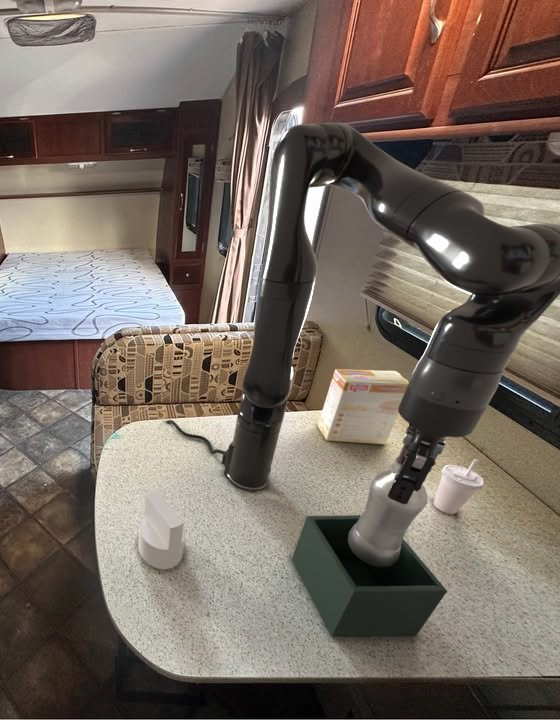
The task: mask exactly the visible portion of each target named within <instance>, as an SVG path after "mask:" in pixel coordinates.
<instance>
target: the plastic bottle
mask: <svg viewBox="0 0 560 720" xmlns="http://www.w3.org/2000/svg"><path fill="white" fill-rule="evenodd" d="M398 457H399V455H398V456H397V457H396V458H395V459H394V461H393V463H392V464H391V465H390V469H386V470H384V471H381V472H379V473H377V474H375V476H373V477H372V479H371V480H370V484H369V490H368V496H367V500H366V502H365V507H364V509H363V512H362V514H360V515H361V517H360V518H359V520H358V522H357V523H356V524H355V525H354V526H353V527H352V528H351V530H350V532H349V536H348V544H349V546H350V548H351V550H352V552H353V553H354V554H355V555H356V556H357V557H358V558H359V559H360V560H362V561H363V562H365V563H367V564H369V565H372V566H375V567H389V566H391V565H392V564H393V563H394V562H396V561H397V560H398V558H399V555H400V551H401V543H402V540H403V539H404V537H405V534H406V532H407V530H408V529H409V527H410V526H411V524H412V523H413V521H414V520H415V519H416V518H417V517H418V516H419V515H420V514H421V512H422V511H423V510H424V509H425V507H426V506H427V505H428V493H427V490H426V488H425V486H424V483H423V484H422V485H421V489H420V490H419V491H418V492H417V491H413V493H412V495H411V497H410V499H409V501H408V503H407V504H401V503H399V502H397V501H394V500H392V499H390V498H389V497H388V493H389V490H390V488H391V486H392V484H393V482H394V478H395V476H394V475H395V473H397V471H398V469H399V467H400V463H399V462H398ZM405 457H406V456H405ZM426 480H427V477H426V478H425V480H424V482H426Z"/></svg>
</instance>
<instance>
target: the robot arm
mask: <svg viewBox="0 0 560 720" xmlns="http://www.w3.org/2000/svg"><path fill="white" fill-rule="evenodd" d="M269 178H270V180H269V195H268V196H269V197H268V215H267V226H266V236H265V243H264V251H263V258H262V264H261V269H260V273H259V281H258V284H257V285H258V286H257V291H256V292H257V293H256V304H255V313H254V329H253V330H254V331H253V343H252V349H251V354H250V357H249V361H248V365H247V368H246V371H245V374H244V375H243V379H242V396H241V399H240V403H239V406H238V410H237V417H236V423H235V428H234V433H233V438H232V442H231V443H230V444H228V448H227V449H226V451H225V450H222V449H218V448H215V449H214V448H213V446H212V444H211V442H210V440H209V439H207V437H205V436H202V435H199V434H191V433H188V432H186V431H184V430H183V429H182V428H181V427H180V426H179V425H178V424H177V423H176V422H175V421H174V420H172V419H168V420H166V421H165V423H166V424H171V425H173V426H174V428H175V429H176V430H177V431H178V432H179V434H181V435H182V436H184V437H187V438H191V439H198V440H202V441H204V442H205V443H206V445H207V448H208V450H209V452H210V453H211V454H212V455H213V454H214V455H215V454H220V455H222V458H221V465H223V466H224V471H223V475H224V476H225V477H227V479H228V481H230V482H231V484H233V485H234V486H235V487H237V488H239V489H241V490H244V491H248V492H259V491H261V490H263V489H265V488H266V487H267V485H268V481H269V477H270V475H271V471H272V470H271V469H272V463H273V460H274V456H275V452H276V449H277V445H278V441H279V437H280V433H281V429H282V426H283V422H284V419H285V415H286V410H287V404H288V402H289V401H288V400H289V397H290V395H291V392H292V389H293V383H294V378H295V372H294V368H293V360H294V353H295V350H296V346H297V343H298V341H299V338H300V335H301V332H302V329H303V327H304V324H305V321H306V318H307V315H308V312H309V308H310V305H311V302H312V298H313V294H314V289H315V286H316V280H317V276H318V270H319V269H318V261H317V257H316V254H315V251H314V248H313V246H312V243H311V240H310V238H309V235H308V232H307V229H306V223H305V215H306V213H305V212H306V207H307V198H308V193H309V189H310V188H321V187H326V186H331V187H335V188H338V189H341V190H345V191H347V192H350V193H352V194H354V195H355V196H357V197H358V198H359V199H360V200H361V201H362V202H363V204H364V207H365V209H366V211H367V213H368V215H369V216H370V218H371V219H372V220H373V221H374V222H375V224H377V225H378V226H379V227H380V228H382V229H383V230H384V231H385V232H387V233H389V234H390V235H391V236H394V237H395V238H397V239H399V240H400V241H401V242H403V243H405V244H406V245H408V246H410V247H411V248H413V249H416V250H417V251H418V252H419V253H420V255H421V256H422V258H423V259H424V260H425V261H426V262H427V264H429V266H430V267H431V268H432V269H433V270H434V271H435V272H436V273H437V274H438V275H439V277H440V278H442V279H443V280H444V281H445V282H446V283H448V284H449V285H451V286H453V287H454V288H455V289H458V290H460V291H462V292H465V293H467V294H470V295H469V297H468V299H466V301H465V302H464V303H462V304H461V305H459V306H456V307H454V308H453V309H451V310H449V311H447V312H445V313H444V314H443V315H442V316H441V318H440V319H439V321H438V322H437V324H436V326H435V327H434V330H433V332H432V335H431V337H430V340H429V342H428V344H427V347H426V349H425V350H424V353H423V355H422V356H421V357H420V359H419V361H418V363H417V364H416V366H415V368H414V370H413V372H412V374H411V377H410V379H409V381H408V382H409V384H408V386H407V388H406V391H405V393H404V395H403V398H402V400H401V402H400V405H399V407H398V411H399V413H398V415H400V417H401V418H402V419H403V420H404V421H405V422H407V423H408V425H407V426H406V429H405V434H404V437H403V439H402V444H403V445H402V448H401V450H400V451H399V455H398V456H399V457H398V456H397V457H398V462H399V463H400V467H399V469H398V471H397V473H395V475H394V476H395V478H394V482H393V484H392V486H391V488H390V490H389V493H388V497H389V498H390V499H392V500H394V501H397V502H399V503H401V504H407V503H408V501H409V499H410V497H411V495H412V493H413V491H417V492H418V491H419V490H420V489H421V485H422V484H423V485H424V483H425V481H426V480H425V478H426V479H427V477H428V475H429V473H431V471H432V469H433V467H434V466H435V465H436V460H437V459H438V456H440V455H441V454H442V453H443V451H444V449H445V447H446V443H447V442H445V440H446V439H447V438H464V437H467V436H469V435H471V434H472V433H473V432H474V431H475V429H476V427H477V425H478V423H479V422H480V420H481V418H482V416H483V414H484V413H485V411H486V409H487V407H488V406H489V404H490V402H491V401H492V398H493V397H494V395H495V394H496V392H497V390H498V387H499V386H500V382H501V378H502V376H503V373H504V371H505V369H506V367H507V365H508V364H509V362H510V360H511V358H512V357H513V355H514V353H515V351H516V349H517V347H518V345H519V344H520V341H521V339H522V337H523V335H524V334H525V333H526V332H527V331H528V329H530V328H531V326H533V324H535V323H536V322H537V321H538V320H539V319H540V317H541V316H543V314H544V313H545V312H546V311H547V310H548V309H549V308H550V306H551V305H552V304H553V303H554V301H555V300H556V299H557V298H558V297H560V224H555V223H548V222H547V223H546V222H544V223H531V224H524V225H514V226H513V225H512V226H507V225H505V224H501V223H498V222H496V221H494V220H492V219H490V218H488V217H487V216H485V207H484V205H483V203H482V202H481V201H480V200H479V199H478V198H476V197H475V196H473V195H471V194H469V193H467V192H465V191H464V190H463V191H462V190H460V189H459V188H456V187H454V186H452V185H450V184H447V183H445V182H443V181H440V180H439V179H436V178H433V177H431V176H428V175H426V174H424V173H422V172H420V171H418V170H416V169H413V168H411V167H409V166H408V165H406V164H404V163H403V162H401V161H399V160H398V159H395V158H394V157H393V156H391V155H389V154H388V153H387V152H385V151H384V150H383V149H381V148H379V147H378V146H377V145H376V144H374V143H373V142H372V141H371V140H369V139H368V138H367V137H366V136H365V135H363V134H362V133H361V132H360V131H358V130H356V128H354V127H352V126H350V125H349V124H347V123H344V122H332V121H331V122H318V123H317V122H316V123H302V124H296V125H293V126H291V127H289V128H288V129H287V130H286V131H284V132H283V134H282V135H281V137H280V138H279V140H278V141H277V143H276V146H275V150H274V152H273V156H272V161H271V167H270V177H269ZM405 456H406V457H405ZM424 480H425V481H424Z"/></svg>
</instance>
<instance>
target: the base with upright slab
mask: <svg viewBox="0 0 560 720" xmlns="http://www.w3.org/2000/svg"><path fill="white" fill-rule="evenodd" d="M144 498H145V499H144V515H143V516H142V517H141V519H140V522H139V527H138V552H139V554H140V556H141V558H142V559H143V561H144V562H145V563H146V564H148V565H149V566H150V567H153V568H155V569H159V570H169V569H173V568H175V567H176V566H178V565H179V564H180V562H181V561H182V559H183V556H184V548H185V542H186V541H185V540H186V529H185V526H184V525H185V521H184V520H183V519H182V518H181V516H180V515H179V514H178V513H177V511H176V510H175V509H174V508H173V506H172V505H171V504H170V503H169V501H168V500H167V499H166V498H165V497H164V495H163V494H162V493H161V492H160V491H159V490H158V489H155V490H152V491H150V492H148V493H146V494H145V496H144Z"/></svg>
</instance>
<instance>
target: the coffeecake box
mask: <svg viewBox="0 0 560 720" xmlns="http://www.w3.org/2000/svg"><path fill="white" fill-rule="evenodd" d="M408 384H409V381H408V380H407V379H406V378H405V377H403V376H402V374H401V373H399V372H398V371H397V370H375V369H374V370H373V369H371V370H370V369H369V370H368V369H346V368H345V369H344V368H342V369H340V368H335V369H334V372H333V375H332V379H331V381H330V385H329V389H328V391H327V395H326V398H325V401H324V404H323V407H322V411H321V414H320V417H319V421H318V424H317V427H318V429H319V431H320V432H321V433H322V435H323V438H324V439H325V441H328V442H331V441H332V442H345V443H346V442H347V443H348V442H349V443H359V444H360V443H361V444H374V445H386V443H387V442H388V439H389V437H390V434H391V432H392V430H393V428H394V426H395V423H396V421H397V418H398V415H399V411H398V407H399V405H400V402H401V400H402V398H403V395H404V393H405V391H406V388H407V386H408Z"/></svg>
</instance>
